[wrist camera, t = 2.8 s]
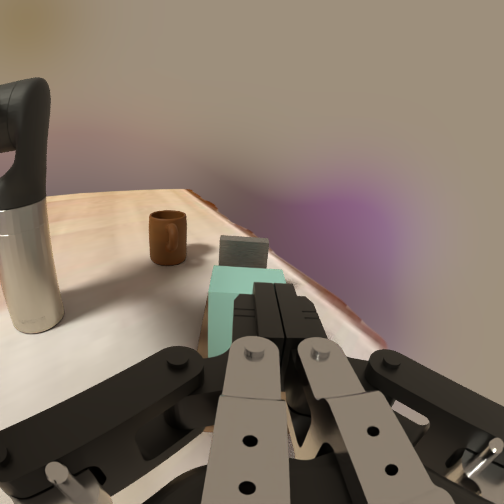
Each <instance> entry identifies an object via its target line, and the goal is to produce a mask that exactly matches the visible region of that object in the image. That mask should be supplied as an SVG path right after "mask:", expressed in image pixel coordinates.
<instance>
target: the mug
mask: <svg viewBox="0 0 504 504" xmlns="http://www.w3.org/2000/svg"><path fill="white" fill-rule="evenodd" d="M186 242H187V221H186V214H185V213H183V212H180V211H172V210H164V211H157V212H153V213H151V214H150V216H149V243H150V257H151V260H152V261H153V262H154V263H156V264H159V265H166V266H169V265H176V264H179V263H181V262H183V261H184V260H185V258H186Z"/></svg>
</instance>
